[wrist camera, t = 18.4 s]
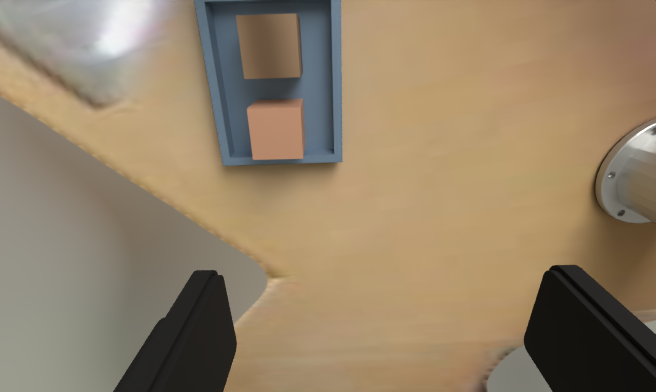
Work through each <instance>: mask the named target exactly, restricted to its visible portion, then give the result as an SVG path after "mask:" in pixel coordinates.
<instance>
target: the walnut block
mask: <svg viewBox="0 0 656 392" xmlns="http://www.w3.org/2000/svg"><path fill="white" fill-rule="evenodd" d="M236 20H237V28H238V35H239V43H240V50H241V58H242V65H243V73H244V79H262V78H292V77H300V76H301V75H302V73H303V63H302V46H301V29H300V18H299V17H298V16H297V14H266V15H236Z"/></svg>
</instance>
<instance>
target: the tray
mask: <svg viewBox="0 0 656 392" xmlns="http://www.w3.org/2000/svg"><path fill="white" fill-rule="evenodd" d="M194 3H195V8H196V14H197V20H198V26H199V31H200V37H201V43H202V48H203V54H204V60H205V65H206V71H207V77H208V83H209V88H210V94H211V100H212V105H213V111H214V117H215V122H216V128H217V134H218V140H219V145H220V151H221V157H222V162H223V166H234V165H264V164H295V163H326V162H342V74H341V0H194ZM266 14H297V16H298V17H299V18H300V29H301V46H302V63H303V73H302V75H301V76H300V77H292V78H262V79H244V73H243V65H242V58H241V50H240V43H239V35H238V28H237V20H236V15H266ZM267 99H303V102H304V123H305V150H304V156H303V159H269V160H253V156H252V147H251V139H250V131H249V123H248V115H247V108H248V107H249V106H251V105H252V104H253V103H254V102H255V101H256V100H267Z"/></svg>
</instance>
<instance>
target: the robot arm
mask: <svg viewBox="0 0 656 392" xmlns="http://www.w3.org/2000/svg"><path fill="white" fill-rule="evenodd" d="M595 186H596V197H597V200H598V203H599V204H600V206H601V208H602V209H603V210H604V211H605V212H606V213H608V214H609V215H611V216H612V217H614V218H616V219H618V220H621V221H623V222H628V223H647V222H654V223H656V119H653V120H651V121H648V122H646V123H645V124H643V125H641V126H639V127H637V128H636V129H634V130H633V131H631V132H630V133H629V134H627V135H626V136H625V137H624V138H623V139H622V140H621V141H619V142H618V143H617V144H616V145H615V146H614V148H613V149H612V150H611V151H610V153H609V154H608V155H607V157H606V158H605V160H604V162H603V163H602V165H601V168H600V170H599V173H598V175H597V180H596V185H595ZM236 345H237V341H236V336H235V331H234V326H233V321H232V316H231V312H230V307H229V302H228V297H227V292H226V287H225V282H224V278H223V276H222V275H218V274H217V272H216V271H215V270H199V271H198V270H197V271H194V272H193V274H192V275H191V277H190V278H189V280H188V282H187V283H186V285H185V287H184V288H183V290H182V292H181V293H180V295H179V296H178V298H177V299H176V301H175V303H174V304H173V306H172V307H171V309H170V311H169V312H168V314H167V315H166V317H165V318H162V319H161V320H159V322H158V323H157V324H156V325H155V327H154V329H153V330H152V332H151V333H150V335H149V336H148V338H147V339H146V341H145V343H144V345H143V346H142V347H141V349H140V350H139V352H138V354H137V355H136V357H135V358H134V360H133V361H132V363H131V365H130V366H129V368H128V369H127V371H126V372H125V374H124V376H123V377H122V379H121V380H120V382H119V383H118V385H117V387H116V388H115V390H114V391H113V392H223V390H224V387H225V384H226V381H227V378H228V375H229V371H230V368H231V365H232V362H233V359H234V356H235V352H236ZM524 345H525V348H526V350H527V352H528V353H529V355H530V357H531V358H532V360H533V361H534V363H535V364H536V366H537V368H538V369H539V371H540V372H541V374H542V375H543V377H544V379H545V380H546V382H547V383H548V385H549V387H550V388H551V390H552V391H553V392H656V334H655V333H653V332H652V331H651V330H650V329H649V328H648V327H647V326H646V325H645V324H643V323H642V322H641V321H640V320H639V319H638V318H637V317H636V316H634V315H633V314H632V313H631V312H630V311H629V310H628V309H627V308H625V307H624V306H623V305H622V304H621V303H620V302H619V301H618V300H616V299H615V298H614V297H613V296H612V295H611V294H610V293H609V292H607V291H606V290H605V289H604V288H603V287H602V286H601V285H600V284H598V283H597V282H596V281H595V280H594V279H593V278H592V277H591V276H589V275H588V274H587V273H586V272H585V271H584V270H583V269H582V268H580V267H579V266H576V265H554V266H552V267H551V268H550V269H549V271H546V272H545V273H544V275H543V278H542V282H541V285H540V288H539V291H538V294H537V297H536V301H535V304H534V307H533V310H532V313H531V317H530V320H529V323H528V326H527V329H526V333H525V336H524Z"/></svg>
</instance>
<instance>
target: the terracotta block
mask: <svg viewBox="0 0 656 392" xmlns="http://www.w3.org/2000/svg"><path fill="white" fill-rule="evenodd" d="M247 115H248V123H249V131H250V139H251V147H252V156H253V160H269V159H303V156H304V150H305V123H304V102H303V99H267V100H256V101H255V102H254V103H253V104H252V105H251V106H249V107H248V108H247Z"/></svg>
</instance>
